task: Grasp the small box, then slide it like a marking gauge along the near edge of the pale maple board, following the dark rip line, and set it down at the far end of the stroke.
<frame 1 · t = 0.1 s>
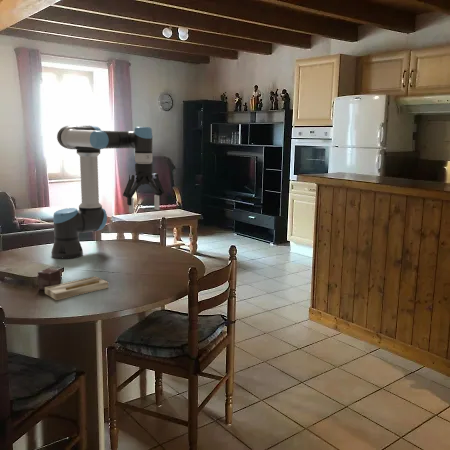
hand: (144, 211, 211), 28 cm above the table, fingers open, 13 cm apart
board: (77, 290, 189), on the table
box: (50, 288, 191), on the table
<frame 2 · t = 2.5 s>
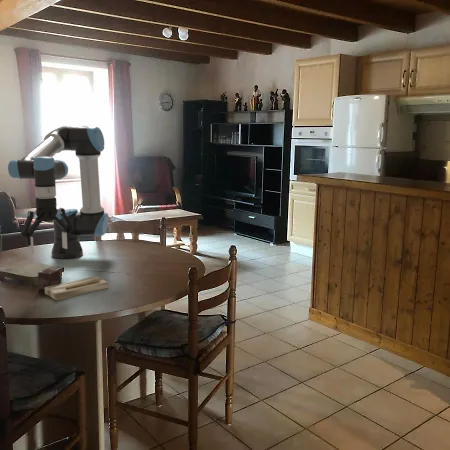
hand: (48, 250, 187), 16 cm above the table, fingers open, 13 cm apart
nothing on the table moved.
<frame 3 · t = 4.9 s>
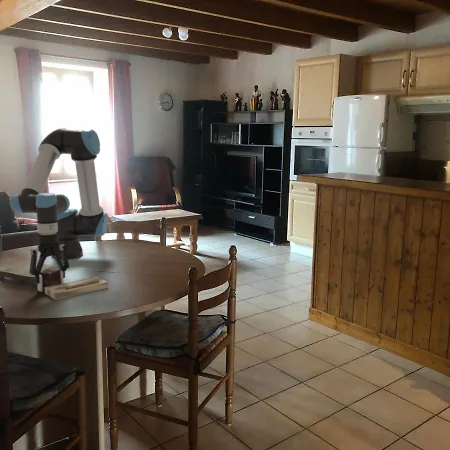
hand: (50, 288, 190), 0 cm above the table, fingers open, 8 cm apart
box: (50, 288, 191), on the table, touching gripper
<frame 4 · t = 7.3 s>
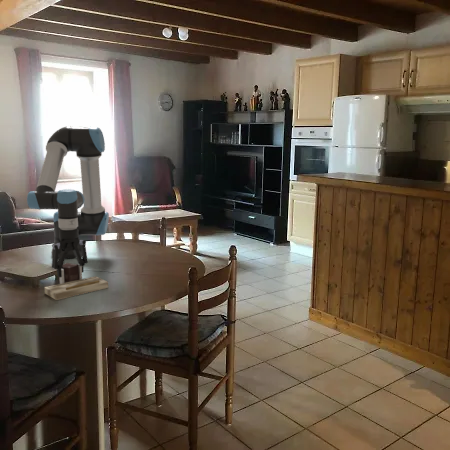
hand: (71, 282, 196), 1 cm above the table, fingers closed on box, 7 cm apart
box: (69, 282, 197), on the table, touching gripper
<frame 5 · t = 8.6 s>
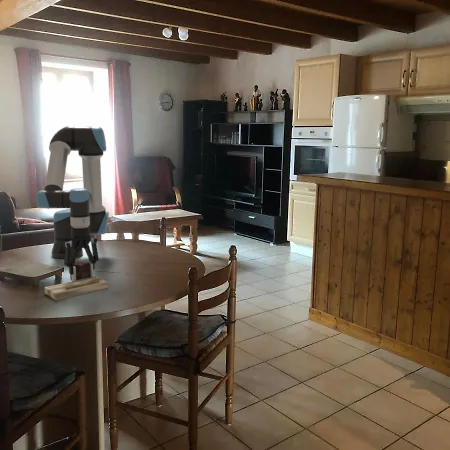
hand: (82, 279, 200), 1 cm above the table, fingers closed on box, 7 cm apart
box: (80, 280, 201), point 1 cm above the table, touching gripper
when the fingers open (1 cm above the table, at t = 9.7 s): box stays where it is, on the table.
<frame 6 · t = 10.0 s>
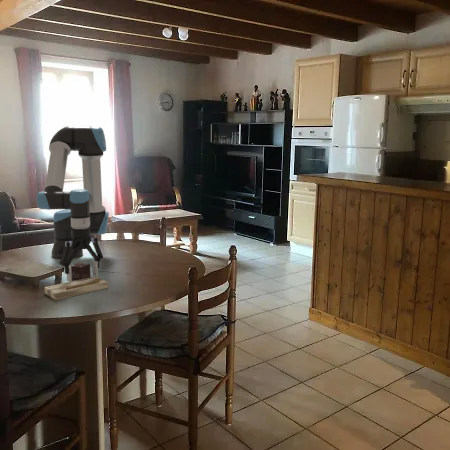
hand: (82, 278, 200), 2 cm above the table, fingers open, 11 cm apart
box: (80, 281, 201), on the table
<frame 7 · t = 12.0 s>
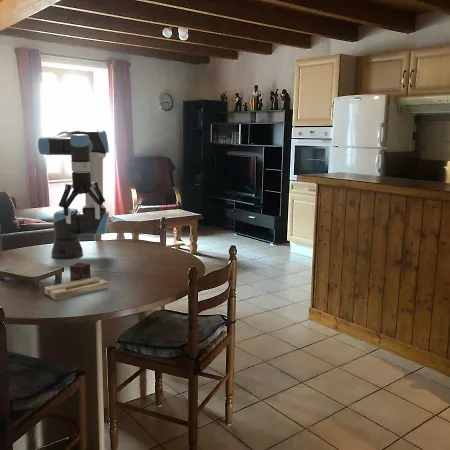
hand: (83, 221, 204), 24 cm above the table, fingers open, 13 cm apart
nothing on the table moved.
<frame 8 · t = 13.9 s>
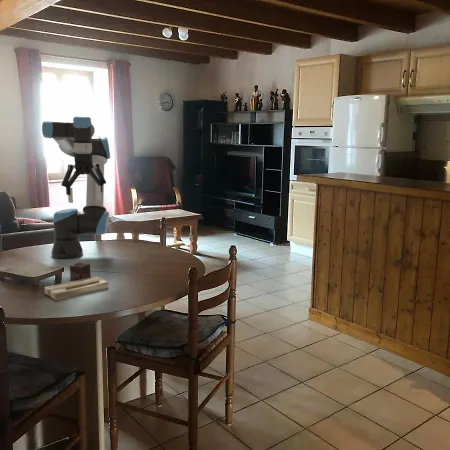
hand: (85, 201, 211), 32 cm above the table, fingers open, 13 cm apart
nothing on the table moved.
at the end: box inside the target area (1.8 cm from its centre), on the table; box tilted 0°; the gripper is holding nothing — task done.
